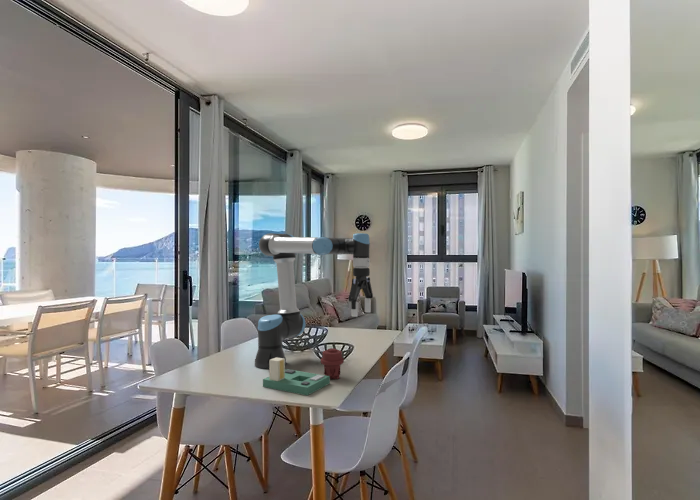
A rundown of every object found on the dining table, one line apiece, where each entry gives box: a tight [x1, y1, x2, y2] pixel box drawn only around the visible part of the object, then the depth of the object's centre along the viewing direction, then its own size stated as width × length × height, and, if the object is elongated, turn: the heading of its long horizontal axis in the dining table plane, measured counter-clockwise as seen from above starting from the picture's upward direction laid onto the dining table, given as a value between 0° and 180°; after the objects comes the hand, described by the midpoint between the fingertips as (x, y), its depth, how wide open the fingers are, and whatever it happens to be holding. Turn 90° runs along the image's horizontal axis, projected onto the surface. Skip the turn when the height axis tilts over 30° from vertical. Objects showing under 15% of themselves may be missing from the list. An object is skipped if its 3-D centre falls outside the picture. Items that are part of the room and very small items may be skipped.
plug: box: [268, 357, 286, 381], centre depth 162 cm, size 5×4×8 cm
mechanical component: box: [320, 347, 345, 380], centre depth 172 cm, size 12×10×10 cm
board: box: [262, 368, 331, 396], centre depth 163 cm, size 22×16×4 cm
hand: (361, 314), depth 180 cm, fingers open, 13 cm apart
